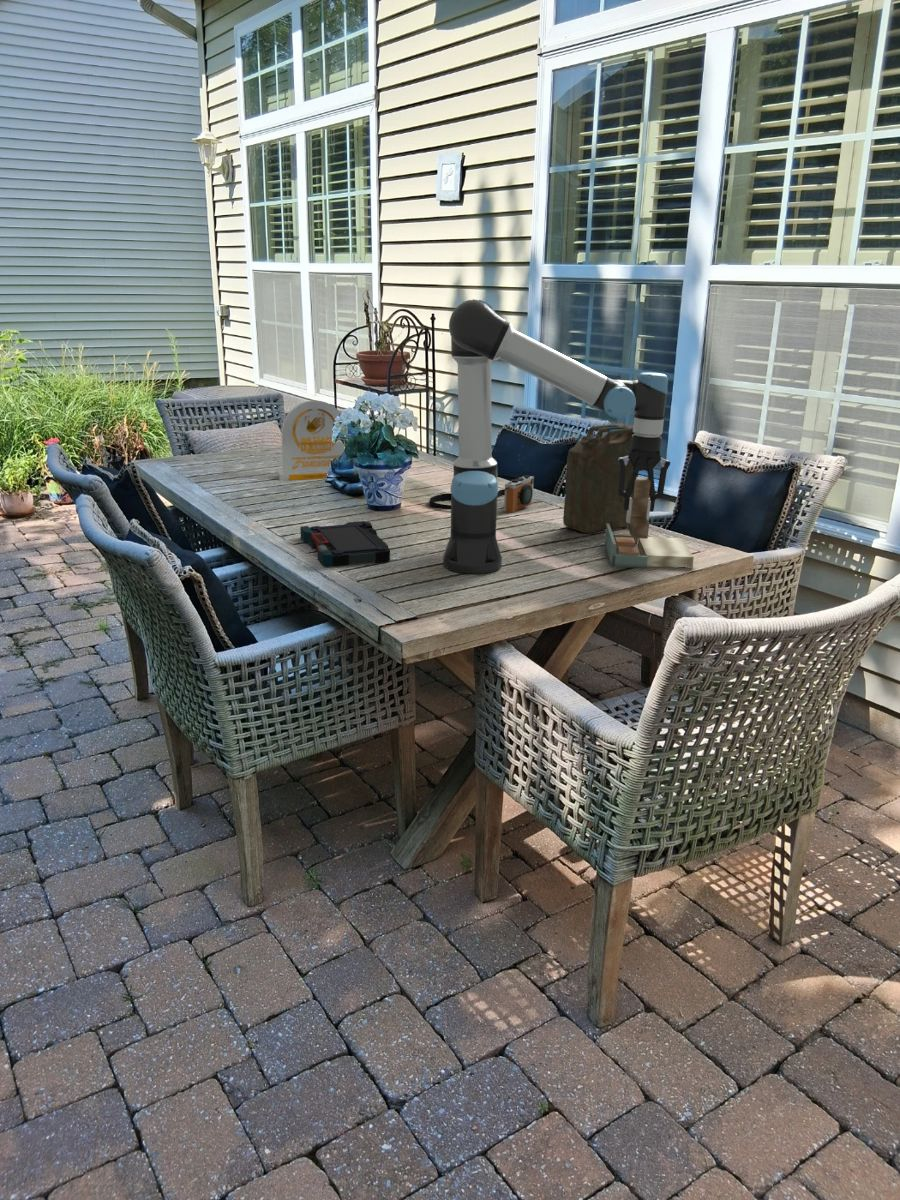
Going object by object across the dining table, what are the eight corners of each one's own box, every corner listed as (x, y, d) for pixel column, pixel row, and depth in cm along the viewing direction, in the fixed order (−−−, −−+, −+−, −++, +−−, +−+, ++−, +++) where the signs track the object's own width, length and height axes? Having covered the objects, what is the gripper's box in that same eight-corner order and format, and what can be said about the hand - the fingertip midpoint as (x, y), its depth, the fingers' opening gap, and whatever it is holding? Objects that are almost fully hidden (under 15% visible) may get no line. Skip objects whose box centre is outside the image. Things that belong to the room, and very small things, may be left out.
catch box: (611, 566, 231) (613, 544, 229) (604, 544, 251) (606, 523, 249) (646, 567, 230) (648, 545, 228) (636, 545, 250) (638, 524, 248)
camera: (505, 520, 274) (506, 489, 271) (421, 507, 288) (421, 477, 285) (544, 501, 299) (545, 472, 296) (465, 490, 313) (466, 462, 310)
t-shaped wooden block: (631, 537, 230) (637, 484, 226) (625, 522, 245) (630, 472, 241) (647, 538, 230) (653, 485, 225) (640, 523, 245) (645, 472, 240)
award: (280, 480, 321) (276, 403, 312) (277, 475, 329) (273, 400, 319) (356, 477, 329) (355, 401, 320) (351, 472, 337) (350, 398, 328)
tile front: (619, 560, 234) (620, 551, 233) (617, 555, 238) (618, 546, 238) (638, 561, 233) (639, 552, 233) (636, 556, 238) (637, 547, 237)
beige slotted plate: (645, 566, 232) (646, 555, 231) (637, 546, 249) (638, 536, 248) (692, 568, 231) (693, 557, 230) (681, 548, 248) (682, 538, 247)
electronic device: (323, 570, 225) (323, 551, 224) (298, 537, 253) (297, 520, 251) (398, 563, 232) (398, 544, 230) (365, 532, 260) (365, 515, 258)
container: (615, 518, 278) (624, 422, 268) (638, 526, 270) (647, 426, 260) (559, 527, 267) (566, 427, 257) (581, 535, 259) (589, 432, 249)
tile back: (616, 550, 242) (616, 541, 242) (614, 545, 247) (615, 536, 246) (634, 551, 242) (635, 542, 241) (632, 546, 247) (633, 537, 246)
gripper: (678, 434, 232) (667, 520, 240) (612, 430, 233) (603, 517, 241) (683, 438, 225) (671, 528, 233) (615, 435, 226) (606, 524, 234)
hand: (637, 522), depth 237 cm, fingers closed on t-shaped wooden block, 4 cm apart
